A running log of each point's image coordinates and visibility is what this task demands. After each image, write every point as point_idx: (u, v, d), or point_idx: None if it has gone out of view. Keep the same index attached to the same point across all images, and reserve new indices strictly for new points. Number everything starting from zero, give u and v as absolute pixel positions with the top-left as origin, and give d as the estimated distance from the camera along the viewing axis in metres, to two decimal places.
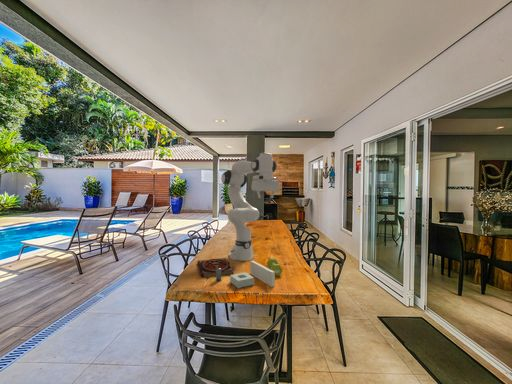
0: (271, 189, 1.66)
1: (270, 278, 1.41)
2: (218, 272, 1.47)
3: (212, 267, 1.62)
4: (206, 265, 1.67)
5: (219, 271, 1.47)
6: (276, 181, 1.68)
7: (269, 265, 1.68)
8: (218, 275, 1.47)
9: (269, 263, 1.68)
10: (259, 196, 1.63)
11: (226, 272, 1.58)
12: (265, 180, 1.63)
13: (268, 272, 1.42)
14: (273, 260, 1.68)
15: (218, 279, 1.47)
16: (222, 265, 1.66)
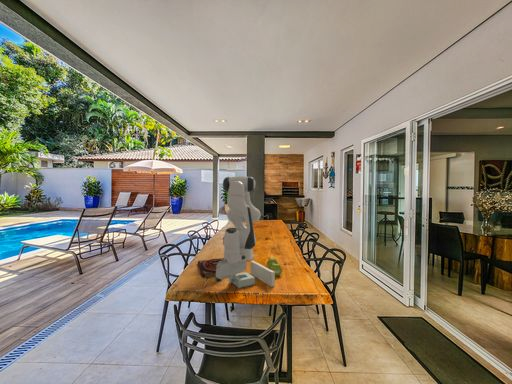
0: None
1: (270, 278, 1.41)
2: None
3: (213, 267, 1.62)
4: (207, 265, 1.67)
5: None
6: None
7: (269, 265, 1.68)
8: None
9: (269, 263, 1.68)
10: None
11: None
12: None
13: (268, 272, 1.42)
14: (273, 260, 1.68)
15: (218, 279, 1.47)
16: None
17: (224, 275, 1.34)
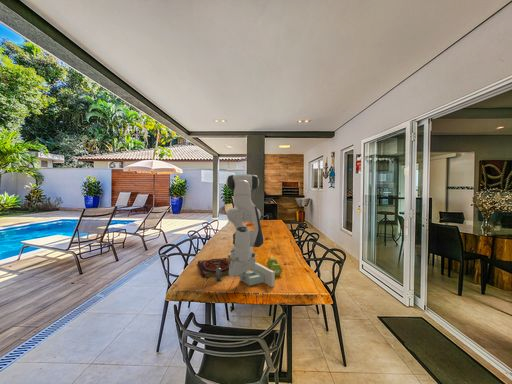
0: None
1: (270, 278, 1.41)
2: (218, 272, 1.47)
3: (213, 267, 1.62)
4: (207, 265, 1.67)
5: (219, 271, 1.47)
6: None
7: (269, 265, 1.68)
8: (218, 275, 1.47)
9: (269, 263, 1.68)
10: None
11: (227, 272, 1.58)
12: None
13: (268, 272, 1.42)
14: (273, 260, 1.68)
15: (218, 279, 1.47)
16: (223, 265, 1.66)
17: (237, 273, 1.37)
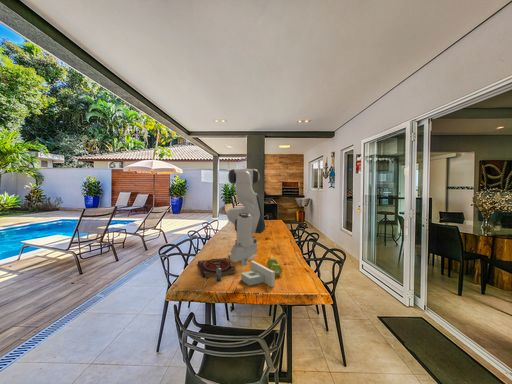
0: None
1: (270, 278, 1.41)
2: (218, 272, 1.47)
3: (213, 267, 1.62)
4: (207, 265, 1.67)
5: (219, 271, 1.47)
6: None
7: (269, 265, 1.68)
8: (218, 275, 1.47)
9: (269, 263, 1.68)
10: None
11: (227, 272, 1.58)
12: None
13: (268, 272, 1.42)
14: (273, 260, 1.68)
15: (218, 279, 1.47)
16: (223, 265, 1.66)
17: (239, 258, 1.38)
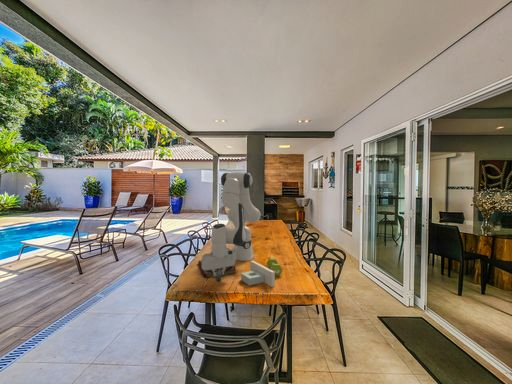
0: None
1: (270, 278, 1.41)
2: (218, 272, 1.47)
3: None
4: None
5: (219, 271, 1.47)
6: None
7: (269, 265, 1.68)
8: (218, 275, 1.47)
9: (269, 263, 1.68)
10: None
11: (228, 272, 1.59)
12: None
13: (268, 272, 1.42)
14: (273, 260, 1.68)
15: (218, 279, 1.47)
16: None
17: (208, 267, 1.43)
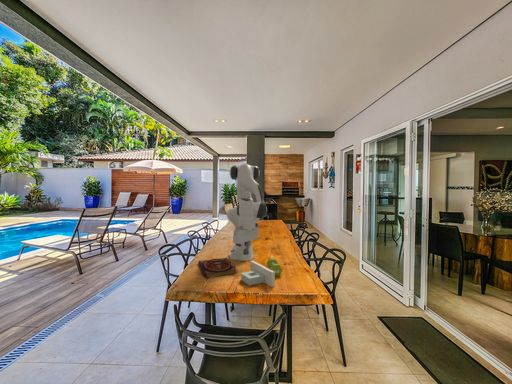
0: None
1: (270, 278, 1.41)
2: (247, 245, 1.46)
3: (214, 267, 1.63)
4: (208, 265, 1.67)
5: (247, 244, 1.46)
6: None
7: (269, 265, 1.68)
8: (247, 248, 1.46)
9: (269, 263, 1.68)
10: None
11: (229, 272, 1.59)
12: None
13: (268, 272, 1.42)
14: (273, 260, 1.68)
15: (247, 252, 1.46)
16: (224, 265, 1.66)
17: (241, 240, 1.40)
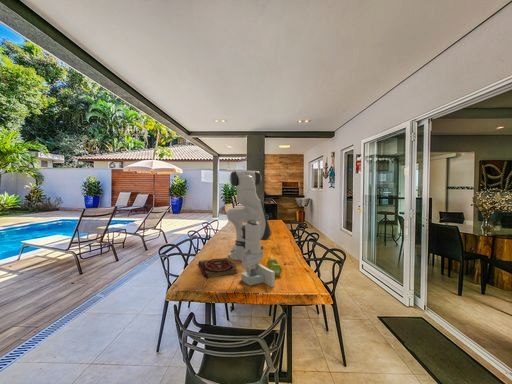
0: None
1: (270, 278, 1.41)
2: (254, 273, 1.46)
3: (215, 267, 1.63)
4: (208, 265, 1.67)
5: (254, 272, 1.47)
6: None
7: (269, 265, 1.68)
8: None
9: (269, 263, 1.68)
10: None
11: (229, 272, 1.59)
12: None
13: (268, 272, 1.42)
14: (273, 260, 1.68)
15: None
16: (225, 265, 1.66)
17: (249, 265, 1.40)
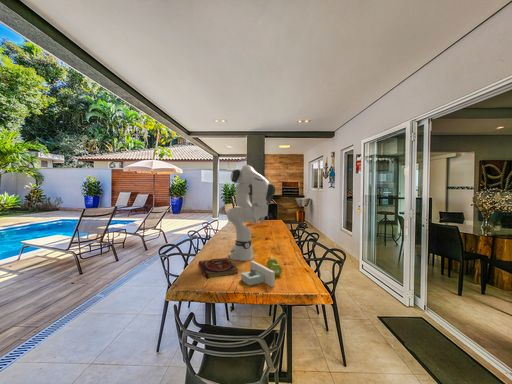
0: None
1: (270, 278, 1.41)
2: (254, 273, 1.46)
3: (215, 267, 1.63)
4: (209, 265, 1.67)
5: (254, 272, 1.47)
6: None
7: (269, 265, 1.68)
8: None
9: (269, 263, 1.68)
10: (261, 221, 1.68)
11: (230, 271, 1.59)
12: None
13: (268, 272, 1.42)
14: (273, 260, 1.68)
15: None
16: (225, 265, 1.67)
17: (256, 216, 1.56)
